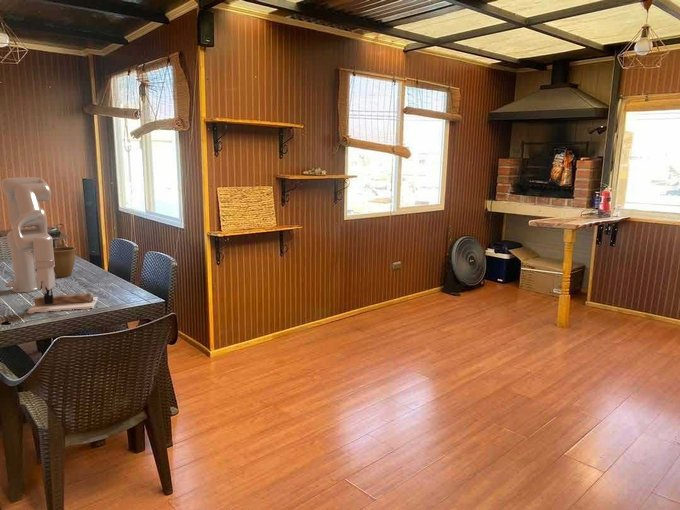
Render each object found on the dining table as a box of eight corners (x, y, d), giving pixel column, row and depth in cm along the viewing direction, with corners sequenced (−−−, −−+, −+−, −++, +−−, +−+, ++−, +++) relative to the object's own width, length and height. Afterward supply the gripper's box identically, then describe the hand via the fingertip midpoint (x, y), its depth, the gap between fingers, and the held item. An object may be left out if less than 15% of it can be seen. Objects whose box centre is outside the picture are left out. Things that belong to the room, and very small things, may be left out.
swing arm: (93, 299, 234) (93, 292, 233) (92, 301, 231) (92, 294, 230) (36, 303, 226) (35, 296, 226) (35, 305, 223) (34, 298, 223)
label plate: (27, 313, 217) (27, 310, 217) (37, 303, 232) (36, 300, 232) (92, 308, 225) (92, 305, 225) (97, 299, 240) (97, 296, 240)
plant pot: (83, 273, 290) (81, 246, 287) (67, 279, 276) (64, 251, 272) (59, 272, 292) (57, 246, 288) (42, 278, 277) (39, 250, 274)
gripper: (41, 260, 225) (45, 299, 229) (29, 268, 211) (34, 308, 214) (59, 260, 227) (63, 298, 230) (48, 267, 213) (53, 307, 216)
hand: (49, 303), depth 222 cm, fingers closed
